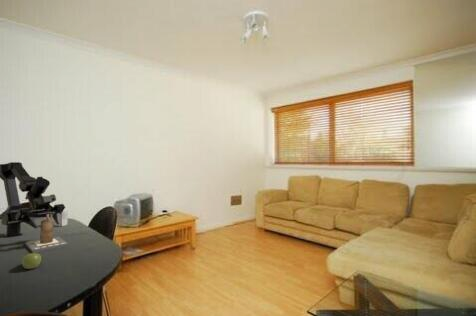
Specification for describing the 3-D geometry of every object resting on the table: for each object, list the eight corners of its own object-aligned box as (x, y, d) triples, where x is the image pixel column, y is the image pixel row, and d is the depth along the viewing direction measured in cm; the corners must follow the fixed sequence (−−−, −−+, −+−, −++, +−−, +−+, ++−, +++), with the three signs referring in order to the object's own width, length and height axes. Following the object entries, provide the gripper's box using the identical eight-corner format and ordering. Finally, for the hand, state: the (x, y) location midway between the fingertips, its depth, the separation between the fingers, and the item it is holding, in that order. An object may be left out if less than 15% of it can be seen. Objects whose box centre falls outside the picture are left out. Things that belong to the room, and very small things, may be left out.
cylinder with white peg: (42, 241, 122) (43, 213, 122) (54, 240, 123) (55, 213, 124) (38, 244, 117) (39, 215, 117) (51, 243, 119) (52, 214, 119)
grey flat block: (25, 244, 120) (25, 241, 120) (58, 238, 130) (58, 236, 130) (32, 253, 109) (33, 249, 109) (68, 246, 119) (68, 243, 119)
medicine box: (67, 224, 158) (67, 210, 159) (61, 226, 154) (62, 212, 154) (55, 224, 159) (56, 210, 159) (49, 226, 155) (50, 211, 155)
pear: (21, 256, 91) (23, 252, 99) (20, 271, 90) (23, 267, 98) (41, 253, 94) (42, 250, 102) (40, 268, 93) (41, 263, 101)
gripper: (19, 191, 115) (30, 218, 109) (63, 188, 131) (75, 211, 126) (10, 207, 118) (21, 234, 113) (54, 202, 135) (66, 225, 129)
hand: (47, 225), depth 120 cm, fingers open, 9 cm apart
